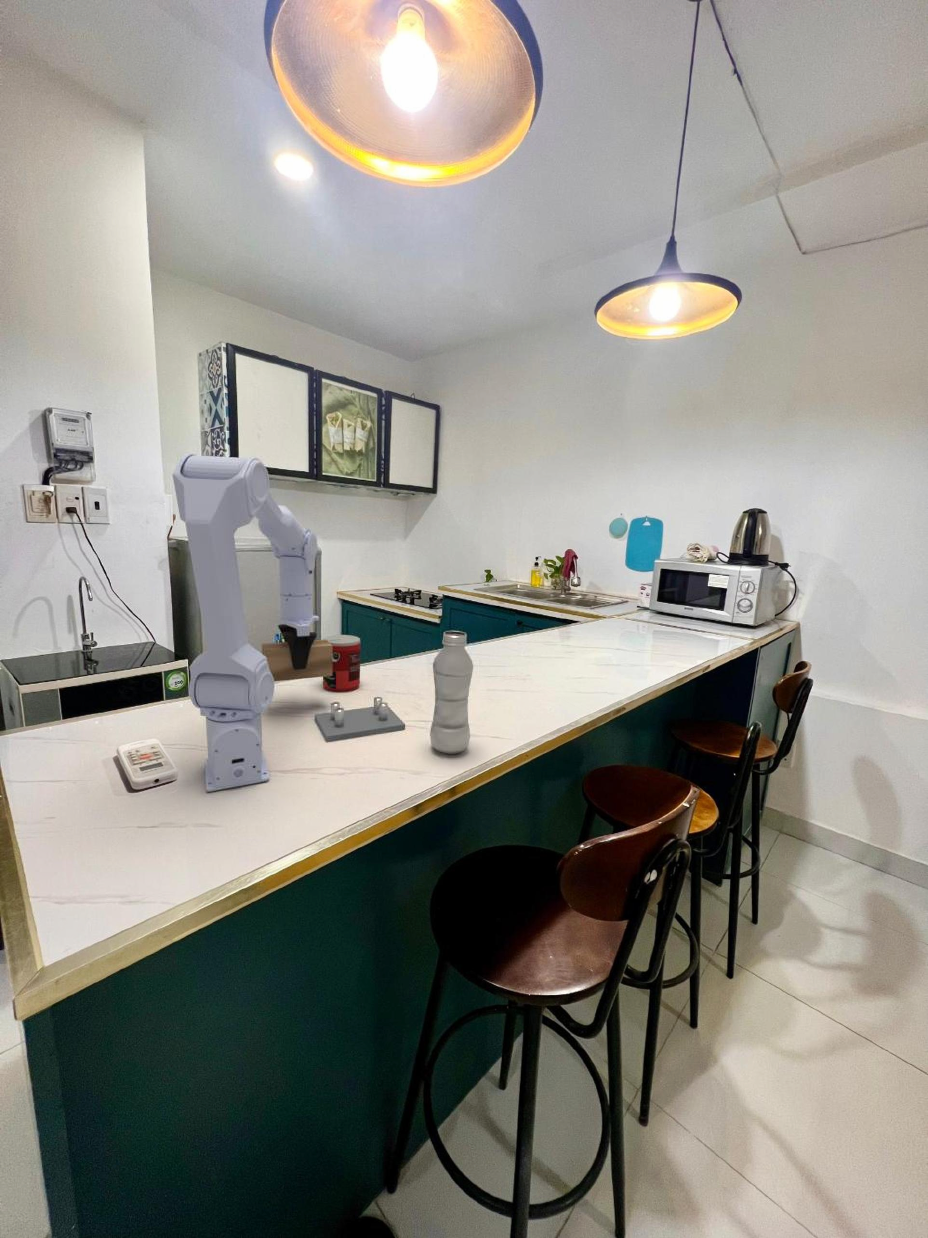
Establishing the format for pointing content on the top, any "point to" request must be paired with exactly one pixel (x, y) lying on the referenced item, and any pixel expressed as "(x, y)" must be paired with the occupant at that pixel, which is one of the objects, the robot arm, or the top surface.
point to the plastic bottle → (451, 695)
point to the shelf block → (282, 662)
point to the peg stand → (358, 721)
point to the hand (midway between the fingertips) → (297, 664)
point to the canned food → (344, 664)
